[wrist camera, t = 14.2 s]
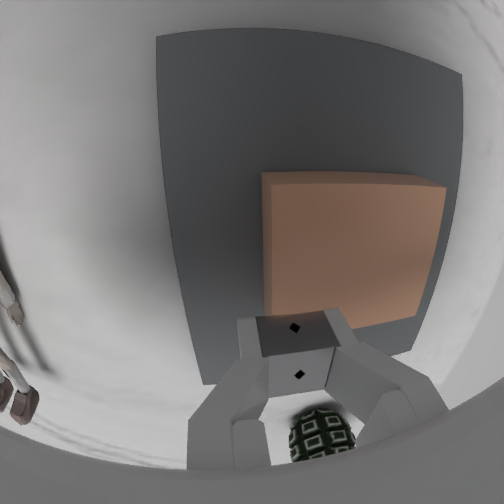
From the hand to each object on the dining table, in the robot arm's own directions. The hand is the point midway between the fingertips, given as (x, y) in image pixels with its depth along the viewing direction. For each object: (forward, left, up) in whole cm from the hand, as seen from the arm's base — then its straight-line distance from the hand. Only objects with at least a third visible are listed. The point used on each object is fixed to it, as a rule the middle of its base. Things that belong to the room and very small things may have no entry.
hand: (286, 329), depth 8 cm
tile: (0, 0, -4) cm, 4 cm away
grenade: (+18, +5, -6) cm, 20 cm away
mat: (0, +4, -6) cm, 7 cm away
